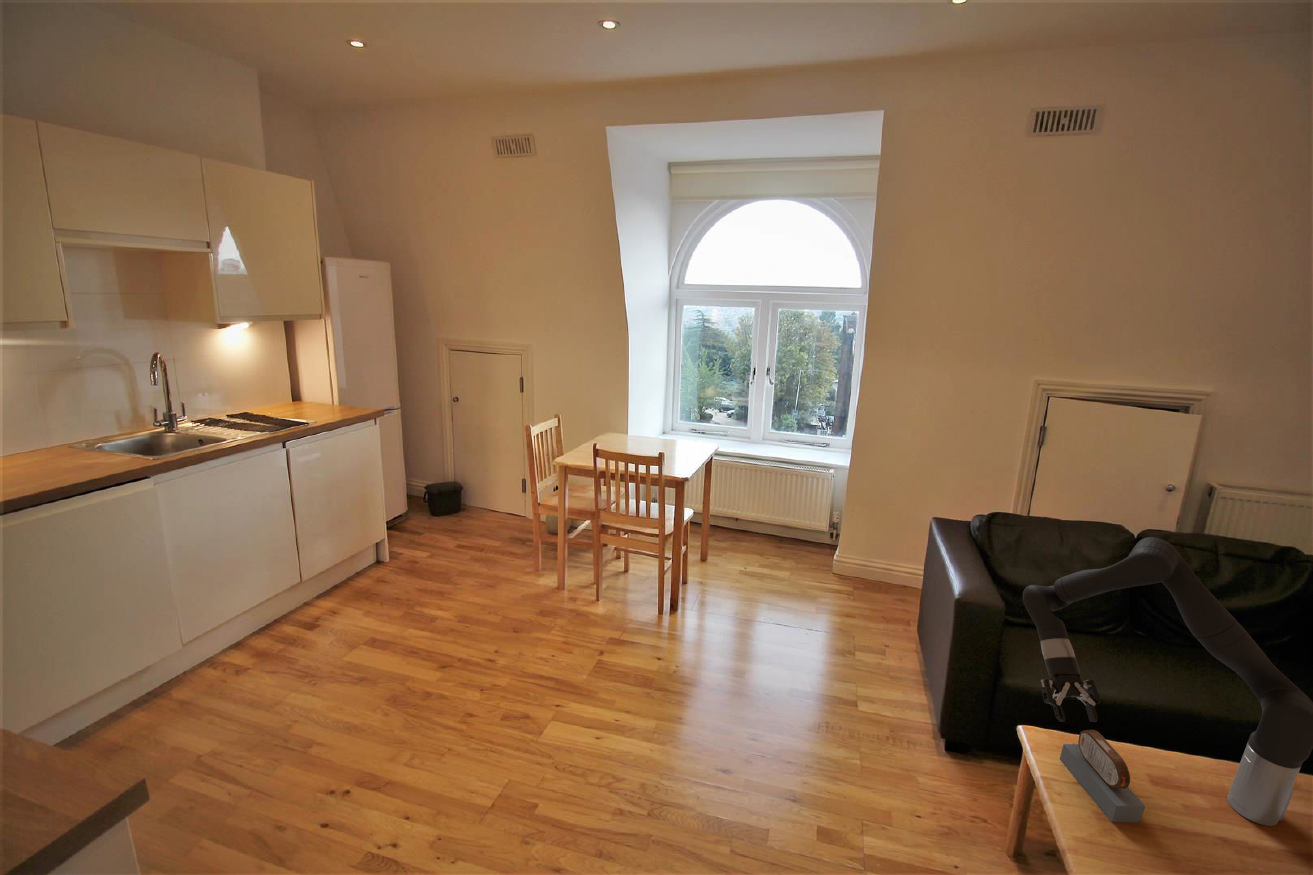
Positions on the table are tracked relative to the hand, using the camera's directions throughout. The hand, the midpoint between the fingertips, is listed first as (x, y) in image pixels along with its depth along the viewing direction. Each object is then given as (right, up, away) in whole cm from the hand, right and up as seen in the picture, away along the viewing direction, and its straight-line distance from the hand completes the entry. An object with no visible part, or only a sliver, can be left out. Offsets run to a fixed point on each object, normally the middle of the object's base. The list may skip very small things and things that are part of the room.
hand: (1078, 721), depth 161 cm
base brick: (0, -14, -7) cm, 16 cm away
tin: (0, -9, -8) cm, 12 cm away
